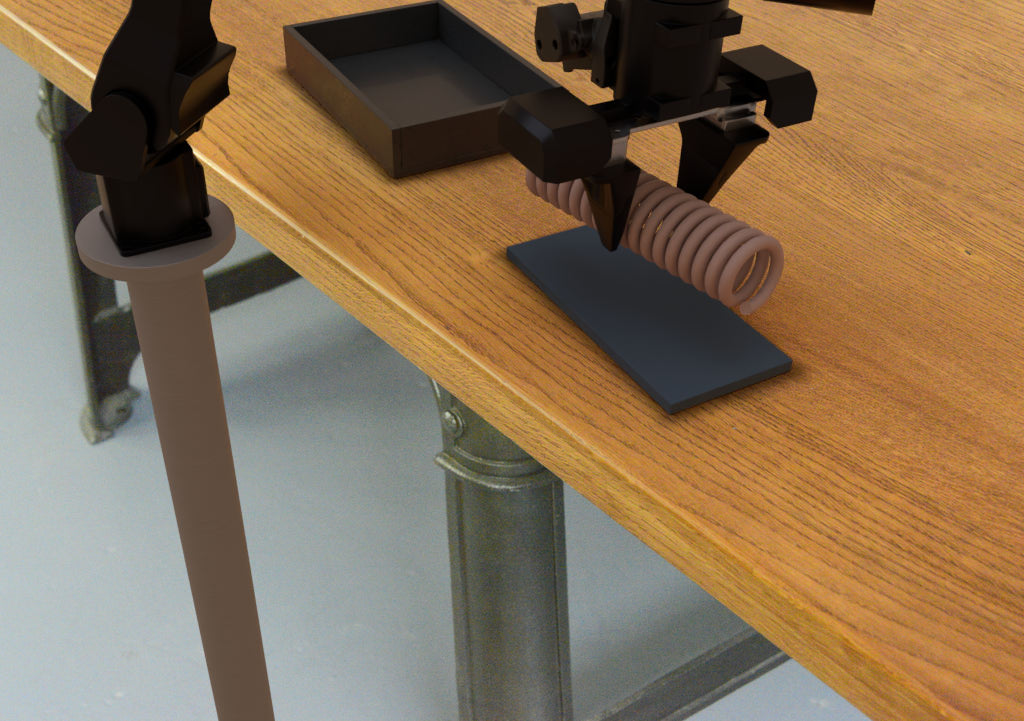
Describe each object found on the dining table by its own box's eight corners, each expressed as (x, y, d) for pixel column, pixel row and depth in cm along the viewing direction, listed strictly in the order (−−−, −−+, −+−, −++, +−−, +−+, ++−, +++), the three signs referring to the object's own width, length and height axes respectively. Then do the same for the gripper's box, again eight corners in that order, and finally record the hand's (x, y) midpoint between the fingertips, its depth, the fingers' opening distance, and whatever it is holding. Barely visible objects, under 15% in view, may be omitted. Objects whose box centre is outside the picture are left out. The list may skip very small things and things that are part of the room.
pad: (669, 415, 66) (671, 404, 65) (505, 256, 78) (506, 246, 78) (791, 370, 69) (793, 359, 69) (615, 225, 82) (616, 216, 82)
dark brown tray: (393, 179, 87) (391, 129, 84) (286, 70, 102) (282, 25, 99) (567, 138, 93) (570, 90, 90) (441, 41, 108) (441, -2, 106)
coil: (518, 142, 72) (741, 264, 62) (572, 115, 74) (796, 229, 64) (521, 205, 75) (734, 331, 65) (573, 177, 78) (786, 295, 67)
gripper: (722, -79, 70) (689, 152, 80) (451, -37, 63) (450, 212, 72) (848, -21, 63) (795, 226, 72) (557, 34, 55) (541, 302, 65)
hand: (646, 237), depth 71 cm, fingers closed on coil, 5 cm apart
